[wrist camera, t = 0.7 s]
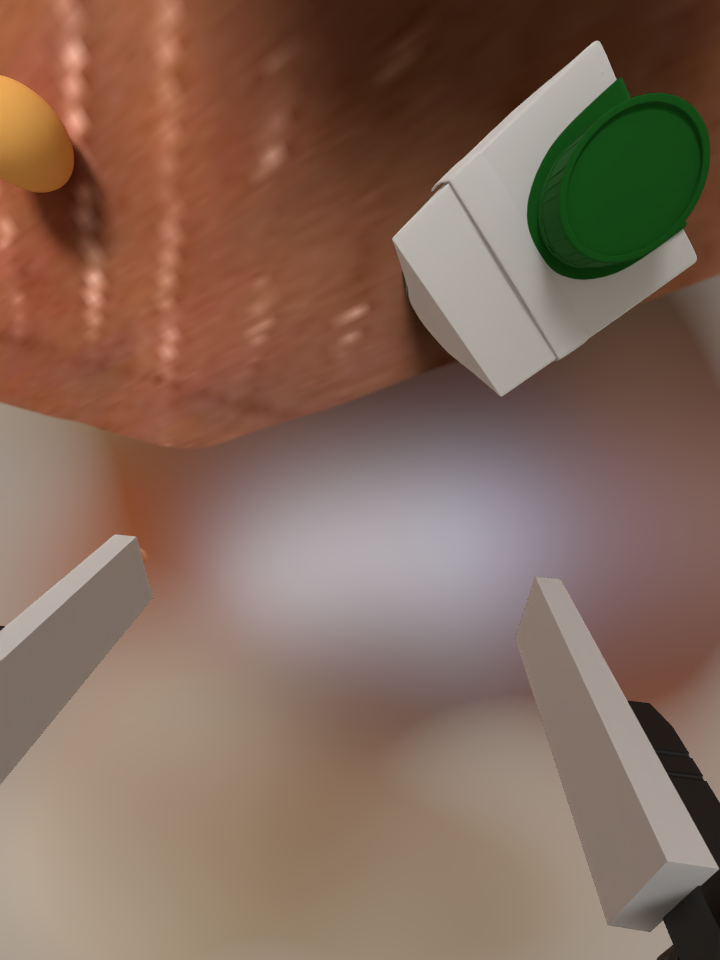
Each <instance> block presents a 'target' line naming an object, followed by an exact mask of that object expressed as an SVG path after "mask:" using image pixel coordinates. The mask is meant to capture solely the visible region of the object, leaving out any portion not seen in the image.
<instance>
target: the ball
mask: <svg viewBox="0 0 720 960" xmlns="http://www.w3.org/2000/svg"><path fill="white" fill-rule="evenodd" d="M73 167H74V152H73V147H72V143H71V140H70V138H69V135H68V133H67V131H66V129H65V127H64V125H63V123H62V122H61V120H60V119H59V117H58V116H57V114H56V113H55V112H54V111H53V109H52V108H51V107H50V106H49V105H48V104H47V103H46V102H45V101H44V100H43V99H42V98H41V97H40V96H39V95H37V94H36V93H35V92H34V91H32V90H31V89H29V88H28V87H26V86H25V85H23V84H21V83H19V82H17V81H15V80H13V79H11V78H8V77H5V76H1V75H0V178H1V179H3V180H5V181H6V182H8V183H10V184H12V185H14V186H16V187H18V188H21V189H24V190H27V191H32V192H50V191H54V190H57V189H59V188H60V187H62V186H63V185H65V184H66V183H67V181H68V180H69V178H70V176H71V174H72V171H73Z"/></svg>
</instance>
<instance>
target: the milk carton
mask: <svg viewBox="0 0 720 960" xmlns="http://www.w3.org/2000/svg"><path fill="white" fill-rule="evenodd" d="M709 164H710V142H709V136H708V132H707V128H706V126H705V123H704V121H703V119H702V117H701V116H700V114H699V113H698V112H697V110H696V109H695V108H694V107H693V106H692V105H691V104H689V103H688V102H687V101H685V100H684V99H682V98H680V97H677V96H674V95H671V94H665V93H647V94H643V95H639V96H634V97H633V98H631V97H630V94H629V92H628V90H627V87H626V85H625V83H624V81H623V79H622V77H620V78H618V79H616V77H615V75H614V72H613V70H612V67H611V65H610V62H609V60H608V58H607V55H606V53H605V51H604V49H603V47H602V45H601V43H600V41H594V42H593V43H591V44H590V45H589V46H588V47H587V48H586V49H585V50H584V51H582V52H581V53H580V54H579V55H578V56H577V57H576V58H575V59H573V60H572V61H571V62H570V63H569V64H568V65H567V66H565V67H564V68H563V69H562V70H561V71H559V72H558V73H557V74H556V75H555V76H553V77H552V78H551V79H550V80H549V81H547V82H546V83H545V84H544V85H543V86H541V87H540V88H539V89H538V90H537V91H535V92H534V93H533V94H532V95H531V96H530V97H528V98H527V99H526V100H525V101H524V102H523V103H521V104H520V105H519V106H518V107H517V108H516V109H515V110H513V111H512V112H511V113H510V114H509V115H508V116H507V117H506V118H505V119H504V120H503V121H502V122H501V123H499V124H498V125H497V126H496V127H495V128H494V129H493V130H492V131H491V132H490V133H489V134H488V135H487V136H486V137H485V138H484V139H483V140H482V141H481V142H480V143H479V144H478V145H476V146H475V147H474V148H473V149H472V150H471V151H470V152H469V153H468V154H467V155H466V156H465V157H464V158H463V159H462V160H460V161H459V162H458V163H457V164H456V165H455V166H453V167H452V168H451V169H450V170H449V171H448V172H447V173H446V174H445V175H444V176H443V177H442V178H441V179H440V180H439V181H438V182H437V183H436V184H435V186H434V187H433V188H432V190H431V192H433V191H434V190H435V189H436V188H437V187H438V186H439V185H440V184H441V183H445V184H444V185H443V186H442V187H441V188H440V189H439V190H438V191H437V192H436V193H435V194H434V195H433V196H432V197H431V198H430V199H429V201H428V202H427V203H426V204H425V205H424V206H423V207H422V208H421V209H420V210H419V211H418V212H417V213H416V214H415V215H414V216H413V217H412V218H411V219H410V220H409V221H408V222H407V223H406V224H405V225H404V226H403V227H402V228H401V229H400V230H399V232H398V233H397V234H396V235H395V236H394V237H393V239H392V240H393V243H394V246H395V249H396V252H397V255H398V258H399V261H400V264H401V268H402V273H403V278H404V283H405V287H406V292H407V296H408V300H409V303H410V305H411V306H412V308H413V310H414V312H415V313H416V315H417V317H418V318H419V320H420V321H421V323H422V324H423V325H424V326H425V328H426V329H427V330H428V331H429V332H430V333H431V335H432V336H433V337H434V338H435V339H436V340H437V341H438V342H439V344H440V345H441V346H442V347H443V348H444V349H445V350H446V351H447V352H448V353H449V354H450V355H451V356H453V357H454V358H455V359H456V360H458V361H459V362H460V363H461V364H463V365H464V366H465V367H466V368H467V369H469V370H470V371H471V372H473V373H474V374H475V375H476V376H477V377H478V378H480V379H481V380H482V381H483V382H484V383H485V384H487V385H488V386H489V387H490V388H491V389H492V390H494V391H495V392H496V393H497V394H498V395H499V396H501V397H502V396H504V395H505V394H507V393H508V392H509V391H511V390H512V389H514V388H515V387H517V386H518V385H520V384H521V383H522V382H524V381H525V380H527V379H528V378H530V377H531V376H532V375H534V374H535V373H537V372H538V371H539V370H541V369H542V368H544V367H545V366H547V365H548V364H550V363H551V362H552V361H557V360H560V359H562V358H563V357H565V356H566V355H568V354H569V353H571V352H572V351H574V350H575V349H577V348H578V347H579V346H581V345H582V344H584V343H585V342H586V341H587V339H589V338H590V337H591V336H593V335H594V334H596V333H597V332H599V331H600V330H602V329H603V328H604V327H606V326H607V325H609V324H610V323H611V322H613V321H614V320H616V319H617V318H619V317H620V316H621V315H623V314H624V313H626V312H627V311H628V310H630V309H631V308H633V307H634V306H635V305H637V304H638V303H640V302H641V301H642V300H644V299H645V298H647V297H648V296H649V295H651V294H652V293H654V292H655V291H656V290H658V289H659V288H661V287H662V286H663V285H665V284H666V283H668V282H669V281H670V280H672V279H673V278H675V277H676V276H677V275H679V274H680V273H682V272H683V271H684V270H686V269H687V268H689V267H690V266H691V265H693V264H694V263H695V262H696V260H697V256H696V254H695V251H694V249H693V247H692V245H691V243H690V241H689V239H688V237H687V235H686V233H685V231H684V228H685V227H686V225H687V223H686V219H687V218H688V216H689V215H690V213H691V212H692V210H693V209H694V207H695V205H696V203H697V202H698V199H699V197H700V195H701V193H702V191H703V188H704V185H705V182H706V178H707V175H708V170H709Z"/></svg>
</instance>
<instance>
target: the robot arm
mask: <svg viewBox="0 0 720 960" xmlns="http://www.w3.org/2000/svg"><path fill="white" fill-rule="evenodd" d="M151 600H152V593H151V590H150V586H149V582H148V579H147V575H146V571H145V567H144V564H143V560H142V556H141V552H140V549H139V545H138V541H137V538H136V537H134V536H124V535H114V536H113V537H111V538H110V539H109V540H108V541H107V542H106V543H104V544H103V545H102V546H101V547H99V548H98V549H97V550H96V551H95V552H94V553H92V554H91V555H90V556H89V557H88V558H86V559H85V560H84V561H83V562H82V563H80V564H79V565H78V566H77V567H76V568H74V569H73V570H72V571H71V572H70V573H69V574H68V575H66V576H65V577H64V578H63V579H61V580H60V581H59V582H58V583H57V584H55V585H54V586H53V587H52V588H51V589H50V590H48V591H47V592H46V593H45V594H44V595H42V596H41V597H40V598H39V599H38V600H36V601H35V602H34V603H33V604H32V605H30V606H29V607H28V608H27V609H26V610H25V611H23V612H22V613H21V614H20V615H19V616H18V617H16V618H15V619H14V620H13V621H11V622H10V623H9V624H8V625H7V626H6V627H5V626H0V784H1V783H2V782H3V780H4V779H5V778H6V777H7V776H8V775H9V773H10V772H11V771H12V770H13V768H14V767H15V766H16V765H17V763H18V762H19V761H20V760H21V759H22V757H23V756H24V755H25V754H26V752H27V751H28V750H29V749H30V747H31V746H32V745H33V744H34V743H35V742H36V740H37V739H38V738H39V737H40V735H41V734H42V733H43V731H45V729H46V728H47V727H48V725H49V724H50V723H51V722H52V721H53V720H54V718H55V717H56V716H57V715H58V713H59V712H60V711H61V710H62V709H63V707H64V706H65V705H66V703H67V702H68V701H69V700H70V699H71V697H72V696H73V695H74V694H75V693H76V691H77V690H78V689H79V688H80V686H81V685H82V684H83V683H84V682H85V680H86V679H87V678H88V677H89V676H90V674H91V673H92V672H93V671H94V669H95V668H96V667H97V666H98V664H99V663H100V662H101V661H102V659H103V658H104V657H105V656H106V655H107V653H108V652H109V651H110V650H111V649H112V647H113V646H114V645H115V644H116V642H117V641H118V640H119V639H120V637H121V636H122V635H123V634H124V633H125V631H126V630H127V629H128V628H129V627H130V625H131V624H132V622H134V620H135V619H136V618H137V617H138V616H139V614H140V613H141V612H142V611H143V609H144V608H145V607H146V606H147V604H148V603H149V602H150V601H151ZM515 640H516V643H517V646H518V649H519V652H520V655H521V658H522V661H523V664H524V668H525V671H526V674H527V677H528V680H529V683H530V686H531V689H532V692H533V695H534V698H535V702H536V705H537V708H538V711H539V714H540V717H541V720H542V723H543V726H544V729H545V732H546V735H547V739H548V742H549V745H550V748H551V751H552V754H553V757H554V760H555V763H556V766H557V769H558V773H559V776H560V779H561V782H562V785H563V788H564V791H565V794H566V797H567V801H568V804H569V807H570V810H571V813H572V816H573V819H574V822H575V825H576V828H577V831H578V834H579V838H580V841H581V844H582V847H583V850H584V853H585V856H586V859H587V862H588V865H589V869H590V872H591V874H592V878H593V881H594V884H595V887H596V890H597V893H598V896H599V899H600V903H601V906H602V909H603V911H604V915H605V918H606V921H607V924H608V925H610V926H616V927H623V928H629V929H635V930H641V931H648V932H651V931H652V930H653V929H654V928H655V927H656V926H657V925H658V924H659V923H660V922H662V921H664V923H665V925H666V928H667V930H668V933H669V935H670V938H671V940H672V942H673V945H672V946H671V947H670V948H669V949H667V950H666V951H665V952H664V953H663V954H661V955H660V956H659V957H658V958H657V960H720V803H719V801H718V800H717V798H716V796H715V794H714V793H713V791H712V790H711V788H710V786H709V785H708V783H707V781H704V780H703V777H702V776H703V775H702V774H701V772H700V770H699V769H698V767H697V765H696V764H695V762H694V761H693V759H692V758H690V757H689V752H688V751H687V749H686V748H685V746H684V744H683V743H682V741H681V740H680V738H679V736H678V735H677V733H676V732H675V730H674V728H673V727H672V726H671V725H670V724H669V723H668V722H667V721H666V720H665V719H664V717H663V716H662V715H661V714H660V713H659V712H658V711H657V710H656V709H655V708H654V707H653V706H652V705H651V704H650V703H643V702H634V701H627V700H626V698H625V696H624V694H623V692H622V691H621V689H620V687H619V685H618V683H617V681H616V680H615V678H614V676H613V674H612V672H611V670H610V669H609V667H608V665H607V663H606V661H605V660H604V658H603V656H602V654H601V652H600V650H599V649H598V647H597V645H596V643H595V641H594V639H593V638H592V636H591V634H590V632H589V630H588V629H587V627H586V625H585V623H584V621H583V619H582V618H581V616H580V614H579V612H578V610H577V609H576V607H575V605H574V603H573V601H572V600H571V597H570V596H569V594H568V592H567V590H566V588H565V587H564V585H563V583H562V581H561V579H554V578H544V577H535V579H534V582H533V585H532V589H531V591H530V594H529V598H528V601H527V604H526V607H525V610H524V613H523V616H522V619H521V622H520V625H519V628H518V631H517V635H516V638H515Z"/></svg>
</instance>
